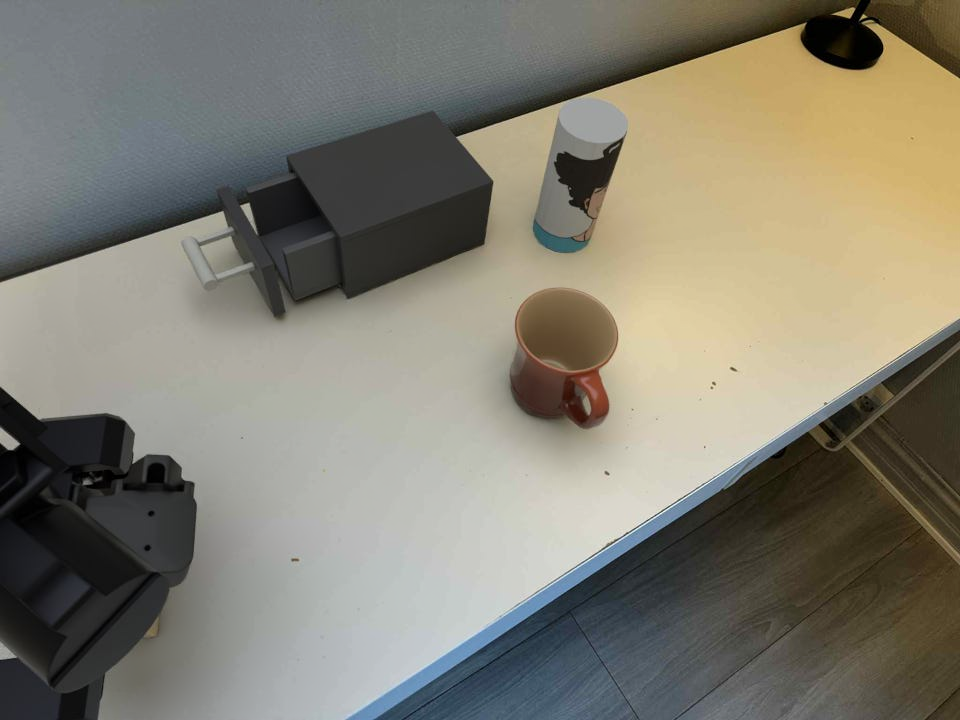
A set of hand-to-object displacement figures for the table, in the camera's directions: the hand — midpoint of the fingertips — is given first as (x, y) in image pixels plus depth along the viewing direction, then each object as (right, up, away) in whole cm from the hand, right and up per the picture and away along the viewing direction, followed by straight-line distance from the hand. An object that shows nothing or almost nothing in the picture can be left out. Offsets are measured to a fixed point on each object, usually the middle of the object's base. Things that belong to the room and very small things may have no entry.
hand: (109, 596), depth 46 cm
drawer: (+8, +27, +22) cm, 36 cm away
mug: (+33, +12, +17) cm, 39 cm away
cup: (+35, +31, +29) cm, 55 cm away
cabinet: (+16, +31, +26) cm, 44 cm away
